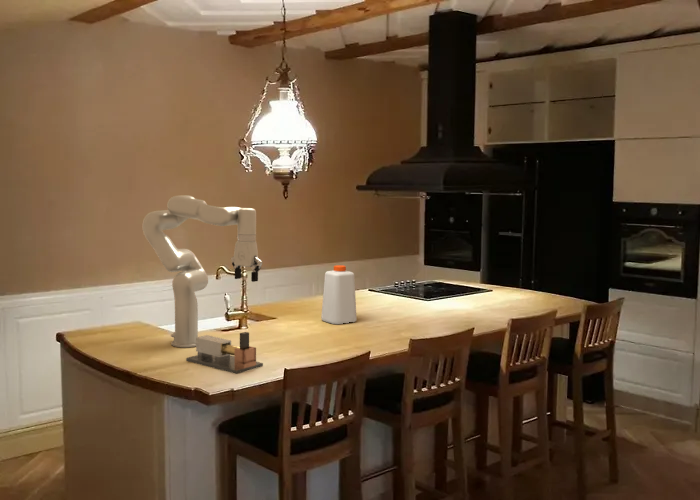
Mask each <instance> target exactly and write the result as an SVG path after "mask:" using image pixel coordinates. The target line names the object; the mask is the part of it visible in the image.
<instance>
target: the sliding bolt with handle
mask: <svg viewBox="0 0 700 500" xmlns="http://www.w3.org/2000/svg"><path fill="white" fill-rule="evenodd" d="M249 346H250V332H248V331H244V332H239V346H237V345H233V344H231V345H228V344H222V353H225V354H229V355H231V356H235V348H238V349H243V350H245V349H248V348H249Z"/></svg>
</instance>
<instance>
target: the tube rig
mask: <svg viewBox="0 0 700 500" xmlns="http://www.w3.org/2000/svg"><path fill="white" fill-rule="evenodd" d="M222 344H228V345H232V340H231V339H227V338H226V339H225V338H222V337H221V338H220V337H218V336H217V337H216V336H213V335H210V334H209V335H208V334H206V335H200V336H198V337H196V346H195V352H197V355H192V356H189V357H186V358H185V360H186V362H188V363H194V364H196V365H201V366H205V367H208V368H212V369H216V370H220V371H224V372H229V373H232V374H237V375H238V374H240V373H245V372H247V371H251V370H255V369H258V368H261V367H263V366H264V363H263V362H259V361H257V347H255V346H251V345H249V348H248V349H245V350H243V349H238V348H235V356H234V355H229V354H225V353H222Z"/></svg>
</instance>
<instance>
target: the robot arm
mask: <svg viewBox="0 0 700 500" xmlns="http://www.w3.org/2000/svg"><path fill="white" fill-rule="evenodd" d="M166 206H167V209H165V210H164V209H163V210H154V211H150V212H148V213H147V214H146V215H145V216H144V217H143V221H142V225H141V226H142V227H141V228H142V232H143V236H144V238H145V239H146V241H147V242H148V243H149V245H150V246H151V248H152V249H153V250H154V253H155V254H156V256H157V257H158V259H159V261H160V263H161V264H162V266H163V268H164V269H165V270H166V271H167V272H170V273H177V272H178V273H177V274H175V275H174V277H173V278H172V285H171V286H172V290H173V296H174V331H173V332H172V333H171V334H170V337H172V338H173V340H172V341H171V343H170V344H171V346H173V347H176V348H193V347H195V348H196V337H199V334H198V333H199V332H198V331H199V330H198V329H199V328H198V326H199V325H198V323H199V322H198V321H199V320H198V318H199V317H198V315H199V314H198V309H199V307H198V306H199V305H198V299H197V296H196V292H198V291H201V290H203V289H206V287H207V286H208V284H209V277H208V274H207V271H206V270H205V269H204V267H203V265H202V263H200V261H199V259H198V257H197V256H196V254H195V253H194V252H193V251H192V250H191V249H188V248H178V247H177V246H176V245H175V244H174V242H173V240H172V239H171V238H170V236H169V235H167V234H166V233H165V231H167V230H174V229H176V228H178V227H179V226H181V225H182V224H184V222H186V221H187V220H188V219H191V220H196V221H199V222H202V223H204V224H209V225H213V226H219V227H226V226H227V227H228V226H234V225H235V226H236V227H237V230H236V231H237V235H236V239H237V241H235V244H234V250H233V251H234V253H233V256H232V257H230V262H231V265H232V266H233V270H234V279H235V280H239V279H240V280H241V278H242V267H244V268H250V269H251V276H250V277H251V282H252V283H254V282H258V281H259V272H260V270H261V269H262V265H263V261H262V260H261V259H260V258H259V251H258V243H257V211H256V209H255V208H251V207H240V206H239V207H238V206H226V207H225V206H224V207H222V206H221V207H220V206H215V205H209V204H207V202H206V201H205V200H203V199H199V198H195V197H194V196H192V195H190V194H189V195H188V194H187V195H185V194H183V195H173V196H172V197H170V198H169V200H168V201H167V205H166Z"/></svg>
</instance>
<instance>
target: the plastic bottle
mask: <svg viewBox="0 0 700 500" xmlns="http://www.w3.org/2000/svg"><path fill="white" fill-rule="evenodd" d="M346 267H347V266H346V265H343V264H341V265H339V264H338V265H337V264H335V265H333V269H332V270H327V271H326V272H325V273H324V282H323V294H322V303H321V304H322V305H321V306H322V307H321V320H322V321H323V322H326V323H329V324H332V325H344V324H343V323H346V324H350V323H349V322H353V323H355V322H357V299H356V280H355V278H356V277H355V273H354V272H352V271H349V270H347V268H346Z"/></svg>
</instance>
